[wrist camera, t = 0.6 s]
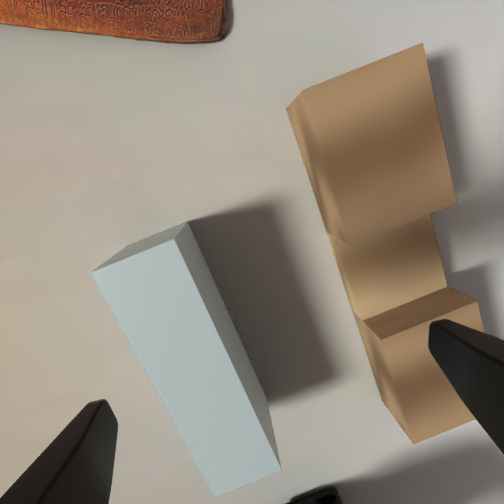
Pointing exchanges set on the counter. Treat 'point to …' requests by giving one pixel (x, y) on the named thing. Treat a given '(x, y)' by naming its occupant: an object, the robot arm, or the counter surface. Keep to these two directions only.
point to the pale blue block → (192, 356)
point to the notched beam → (388, 225)
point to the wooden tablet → (124, 18)
